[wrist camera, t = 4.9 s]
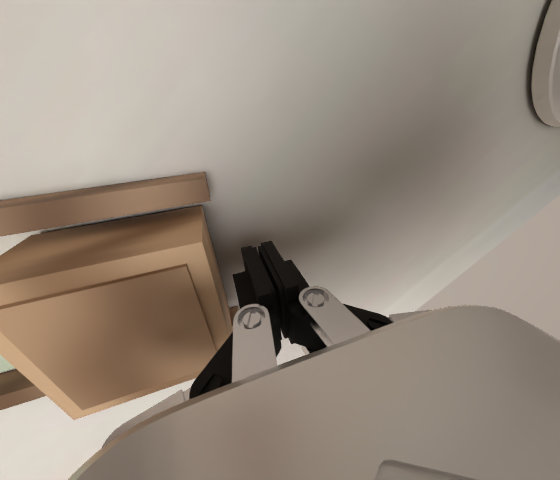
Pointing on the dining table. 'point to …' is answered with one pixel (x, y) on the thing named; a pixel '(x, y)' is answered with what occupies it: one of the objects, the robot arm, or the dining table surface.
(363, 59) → the dining table surface
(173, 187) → the bay
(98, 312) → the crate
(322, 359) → the robot arm
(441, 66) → the dining table surface
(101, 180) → the dining table surface
